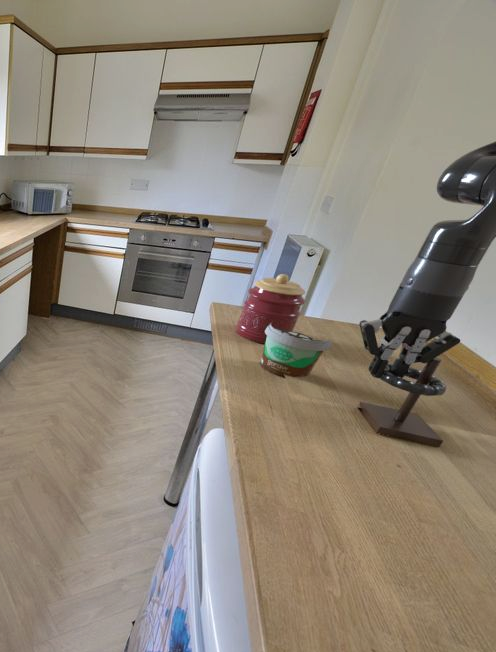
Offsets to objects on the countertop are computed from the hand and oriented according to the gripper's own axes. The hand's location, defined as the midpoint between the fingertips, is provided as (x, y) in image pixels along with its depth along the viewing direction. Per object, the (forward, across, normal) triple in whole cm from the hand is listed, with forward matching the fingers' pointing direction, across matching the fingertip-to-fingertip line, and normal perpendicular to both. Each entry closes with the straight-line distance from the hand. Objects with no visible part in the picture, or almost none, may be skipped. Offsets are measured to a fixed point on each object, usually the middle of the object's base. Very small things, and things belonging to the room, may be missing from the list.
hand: (382, 377), depth 75 cm
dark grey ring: (-1, -4, 0) cm, 4 cm away
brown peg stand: (+9, -5, 0) cm, 11 cm away
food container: (+10, +11, -14) cm, 20 cm away
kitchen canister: (+10, +10, -37) cm, 40 cm away
